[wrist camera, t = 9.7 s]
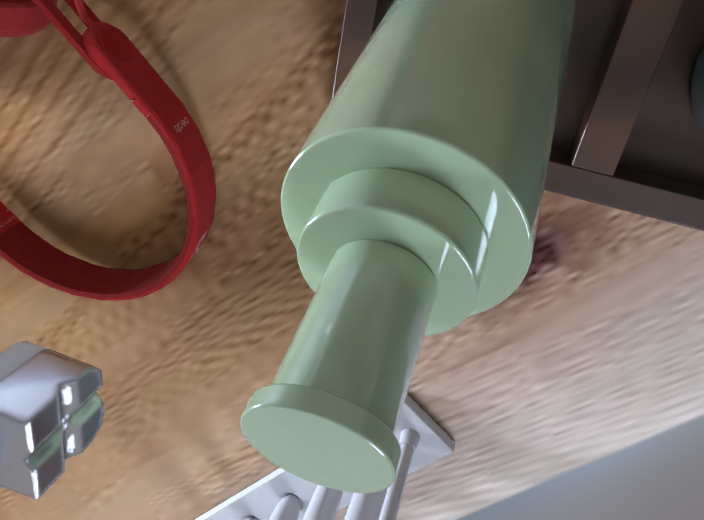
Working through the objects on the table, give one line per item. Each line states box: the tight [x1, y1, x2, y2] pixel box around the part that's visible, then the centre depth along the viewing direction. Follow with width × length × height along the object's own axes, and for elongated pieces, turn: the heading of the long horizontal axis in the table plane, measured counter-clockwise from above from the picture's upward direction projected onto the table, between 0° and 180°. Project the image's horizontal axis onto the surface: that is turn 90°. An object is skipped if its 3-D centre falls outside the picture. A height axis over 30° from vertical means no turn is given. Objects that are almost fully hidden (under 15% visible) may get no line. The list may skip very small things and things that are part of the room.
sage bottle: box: [240, 0, 575, 493], centre depth 17 cm, size 6×6×18 cm
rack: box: [332, 0, 704, 231], centre depth 19 cm, size 13×22×13 cm, turn 80°
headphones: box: [0, 0, 216, 301], centre depth 31 cm, size 15×7×20 cm
